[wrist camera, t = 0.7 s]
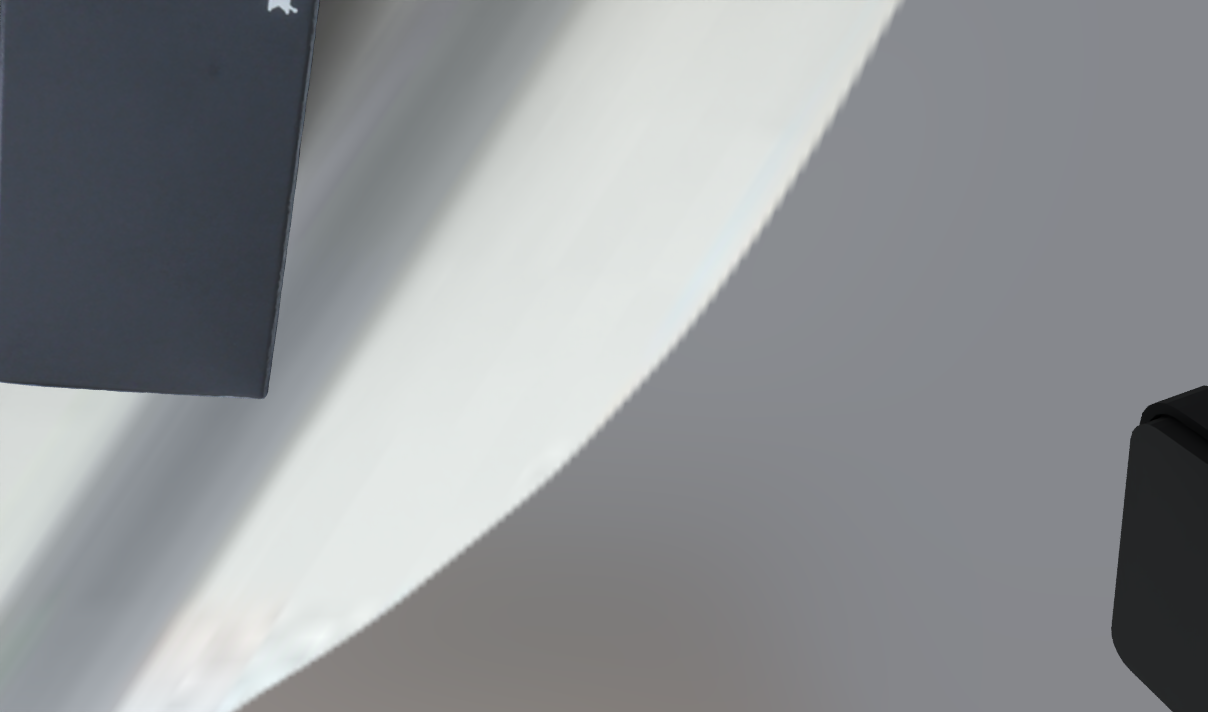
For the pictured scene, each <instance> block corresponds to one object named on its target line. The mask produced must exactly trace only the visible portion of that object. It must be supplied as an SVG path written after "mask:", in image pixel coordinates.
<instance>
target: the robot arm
mask: <svg viewBox="0 0 1208 712" xmlns="http://www.w3.org/2000/svg"><path fill="white" fill-rule="evenodd" d="M1129 450H1130V451H1129V460H1128V469H1127V479H1126V489H1125V499H1124V509H1123V519H1122V529H1121V539H1120V549H1119V558H1118V568H1117V578H1116V588H1115V598H1114V609H1113V619H1112V627H1111V630H1112V639H1113V643H1114V646H1115V648H1116V650H1117V652H1118V654H1119V656H1120V658H1121V659H1122V661H1123V662H1124V663H1125V665H1126V666H1127V667H1128V668H1129V669H1130V670H1131V671H1132V672H1133V673H1134V674H1135V675H1136V676H1137V677H1138V678H1139V679H1140V680H1141V681H1142V682H1143V683H1144V684H1145V685H1146V686H1147V687H1148V688H1149V689H1150V690H1151V691H1152V692H1153V693H1154V694H1155V695H1156V696H1157V697H1158V698H1159V699H1160V700H1161V701H1162V702H1163V703H1164V704H1165V705H1166V706H1167V707H1168V708H1169V709H1170V710H1171V711H1173V712H1208V386H1201V387H1199V388H1196V389H1193V390H1190V391H1187V392H1184V393H1182V394H1179V395H1176V396H1173V397H1171V398H1168V399H1165V400H1162V401H1159V402H1157V403H1154V404H1152V405H1149V406H1148V407H1147V408H1146V409H1145V411H1144V412H1143V413H1142V417H1141V421H1140V425H1139V426H1137V427H1136V428H1135V429H1134V431H1133V432H1132V436H1131V439H1130V449H1129Z"/></svg>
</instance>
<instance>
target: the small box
mask: <svg viewBox="0 0 1208 712" xmlns="http://www.w3.org/2000/svg"><path fill="white" fill-rule="evenodd" d="M319 3H320V0H0V382H1V383H11V384H20V385H29V386H41V387H58V388H71V389H90V390H107V391H118V392H139V393H145V392H147V393H159V394H174V395H192V396H208V397H230V398H252V399H264V398H265V397H266V395H267V393H268V387H269V380H270V373H271V366H272V358H273V351H274V344H275V337H276V330H277V322H278V315H279V307H280V298H281V290H282V285H283V276H284V270H285V263H286V254H287V246H288V239H289V232H290V226H291V219H292V211H293V202H294V194H295V188H296V180H297V172H298V164H299V155H300V145H301V138H302V131H303V126H304V118H305V110H306V101H307V95H308V90H309V81H310V73H311V66H312V59H313V49H314V41H315V36H316V24H317V18H318V11H319Z"/></svg>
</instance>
